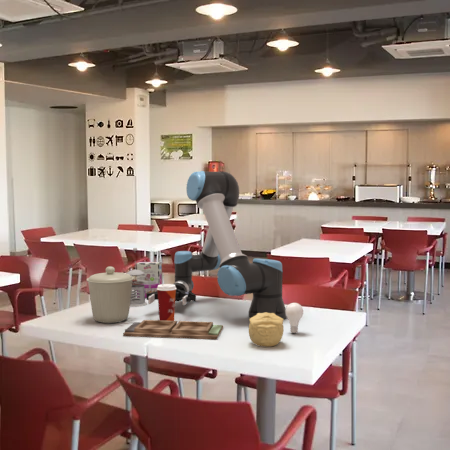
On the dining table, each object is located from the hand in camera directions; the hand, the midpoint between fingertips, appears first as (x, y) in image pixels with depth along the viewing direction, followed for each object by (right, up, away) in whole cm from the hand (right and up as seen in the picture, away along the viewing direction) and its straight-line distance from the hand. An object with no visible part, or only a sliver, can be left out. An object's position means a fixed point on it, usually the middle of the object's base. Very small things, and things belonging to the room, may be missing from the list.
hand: (166, 301), depth 230 cm
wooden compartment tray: (+5, -9, -18) cm, 20 cm away
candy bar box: (-12, -4, +46) cm, 48 cm away
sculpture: (+36, -10, -33) cm, 50 cm away
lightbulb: (+47, -9, -20) cm, 52 cm away
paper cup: (0, -8, -1) cm, 8 cm away
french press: (-16, -5, +30) cm, 34 cm away
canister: (-22, -8, +1) cm, 23 cm away
